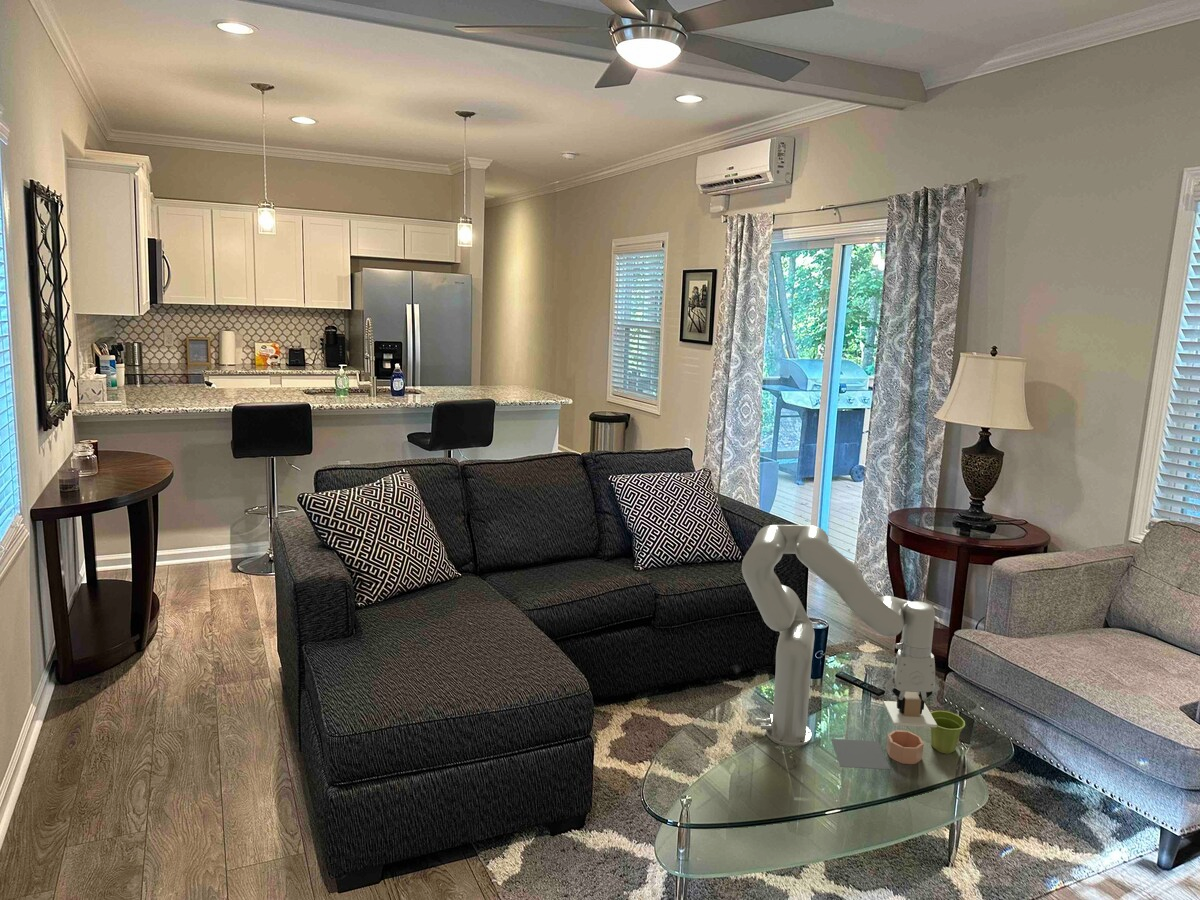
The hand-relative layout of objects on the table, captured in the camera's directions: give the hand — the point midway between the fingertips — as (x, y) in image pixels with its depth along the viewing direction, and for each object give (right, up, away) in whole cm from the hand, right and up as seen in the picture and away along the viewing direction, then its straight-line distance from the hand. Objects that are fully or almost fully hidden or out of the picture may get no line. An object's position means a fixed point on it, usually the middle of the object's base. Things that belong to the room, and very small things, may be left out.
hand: (909, 710), depth 225 cm
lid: (0, -1, 0) cm, 1 cm away
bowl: (0, -13, +3) cm, 14 cm away
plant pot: (+12, -13, +7) cm, 19 cm away
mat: (-12, -13, +3) cm, 18 cm away
